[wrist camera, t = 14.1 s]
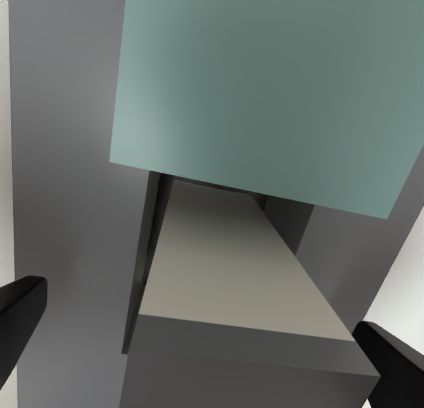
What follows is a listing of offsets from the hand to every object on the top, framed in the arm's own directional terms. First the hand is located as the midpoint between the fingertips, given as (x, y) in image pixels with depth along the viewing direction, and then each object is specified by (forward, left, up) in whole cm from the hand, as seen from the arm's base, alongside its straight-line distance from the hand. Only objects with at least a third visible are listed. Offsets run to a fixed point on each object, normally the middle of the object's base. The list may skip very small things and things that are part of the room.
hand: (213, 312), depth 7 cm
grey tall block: (0, 0, -5) cm, 5 cm away
